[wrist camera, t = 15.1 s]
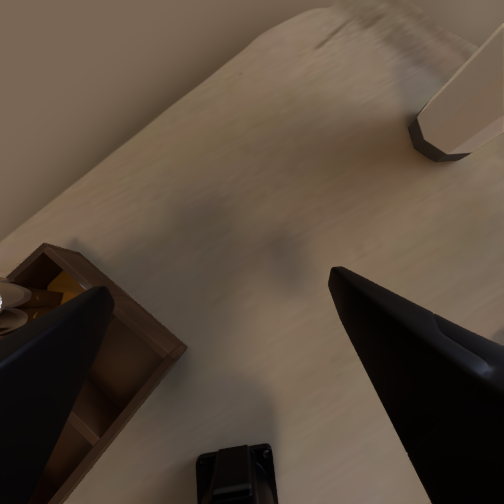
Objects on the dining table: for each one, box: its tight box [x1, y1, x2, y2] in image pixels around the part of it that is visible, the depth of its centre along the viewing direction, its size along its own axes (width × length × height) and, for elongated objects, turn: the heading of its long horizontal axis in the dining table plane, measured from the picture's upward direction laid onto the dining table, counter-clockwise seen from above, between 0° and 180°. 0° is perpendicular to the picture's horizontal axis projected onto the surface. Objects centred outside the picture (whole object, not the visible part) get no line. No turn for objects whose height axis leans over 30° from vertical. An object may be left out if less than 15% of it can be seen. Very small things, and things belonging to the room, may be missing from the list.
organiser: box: [6, 243, 188, 504], centre depth 18 cm, size 15×15×4 cm
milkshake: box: [0, 277, 81, 339], centre depth 15 cm, size 4×5×10 cm
